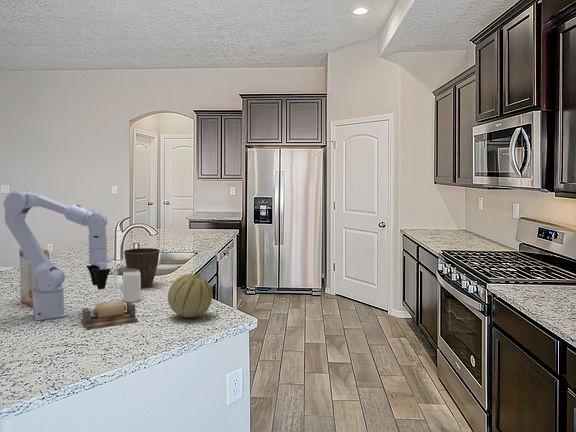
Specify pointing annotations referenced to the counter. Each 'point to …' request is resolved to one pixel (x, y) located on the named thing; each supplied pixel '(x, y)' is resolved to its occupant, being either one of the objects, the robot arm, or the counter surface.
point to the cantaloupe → (190, 296)
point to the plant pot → (143, 263)
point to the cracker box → (28, 278)
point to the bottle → (109, 309)
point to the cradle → (108, 318)
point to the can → (131, 285)
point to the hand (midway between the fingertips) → (98, 287)
